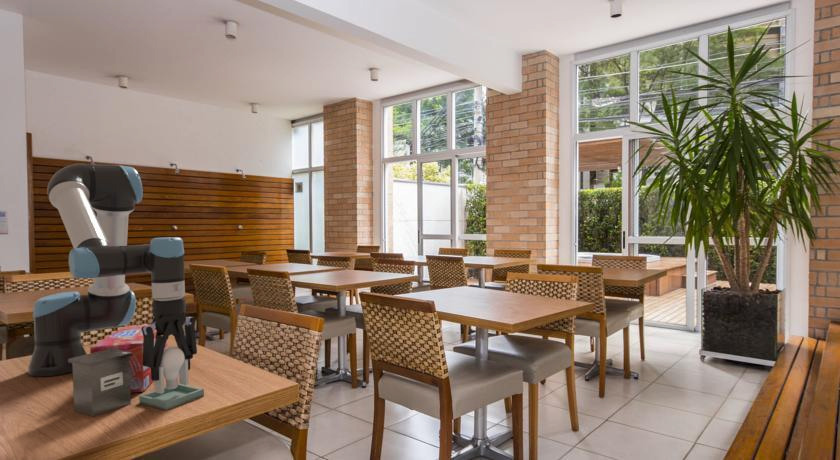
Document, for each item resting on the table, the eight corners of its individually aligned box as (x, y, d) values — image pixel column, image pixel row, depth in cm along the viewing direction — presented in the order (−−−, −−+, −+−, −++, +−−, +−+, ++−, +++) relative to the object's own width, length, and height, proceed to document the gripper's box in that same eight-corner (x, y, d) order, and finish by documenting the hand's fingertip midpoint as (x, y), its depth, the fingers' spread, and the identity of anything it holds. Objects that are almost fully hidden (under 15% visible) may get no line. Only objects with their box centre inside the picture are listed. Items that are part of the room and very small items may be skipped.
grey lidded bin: (70, 411, 121) (68, 358, 120) (113, 397, 130) (111, 348, 129) (91, 418, 116) (89, 363, 116) (134, 403, 125) (132, 352, 125)
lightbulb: (174, 394, 124) (172, 350, 123) (152, 393, 125) (150, 349, 124) (191, 385, 130) (189, 344, 129) (169, 384, 131) (168, 343, 131)
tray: (139, 403, 125) (139, 395, 125) (177, 389, 135) (177, 383, 134) (166, 410, 120) (166, 402, 120) (204, 395, 129) (203, 389, 129)
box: (124, 367, 156) (122, 324, 155) (169, 364, 159) (168, 321, 159) (89, 398, 129) (87, 346, 129) (144, 393, 132) (142, 342, 132)
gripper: (141, 305, 116) (144, 403, 117) (210, 293, 133) (213, 378, 134) (122, 303, 120) (125, 398, 121) (192, 291, 137) (194, 375, 137)
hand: (171, 387), depth 127 cm, fingers closed on lightbulb, 6 cm apart
